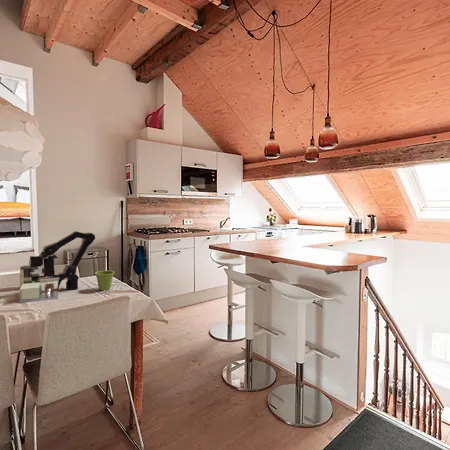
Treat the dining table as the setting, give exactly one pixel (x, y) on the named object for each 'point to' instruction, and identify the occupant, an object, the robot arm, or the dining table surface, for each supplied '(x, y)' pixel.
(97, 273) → the plant pot
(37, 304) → the dining table surface
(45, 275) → the robot arm
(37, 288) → the cover
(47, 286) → the walnut block
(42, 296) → the housing base
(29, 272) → the coffee can
